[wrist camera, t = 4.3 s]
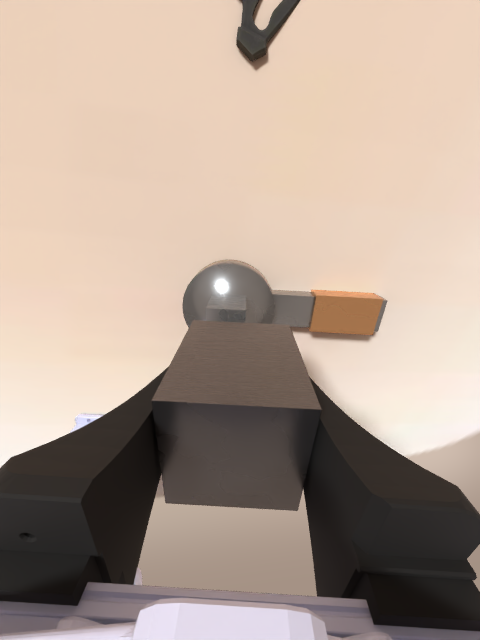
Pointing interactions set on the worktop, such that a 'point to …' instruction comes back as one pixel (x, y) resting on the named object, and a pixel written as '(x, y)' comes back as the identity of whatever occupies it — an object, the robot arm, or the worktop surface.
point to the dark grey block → (236, 417)
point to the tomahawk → (256, 39)
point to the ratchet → (276, 302)
